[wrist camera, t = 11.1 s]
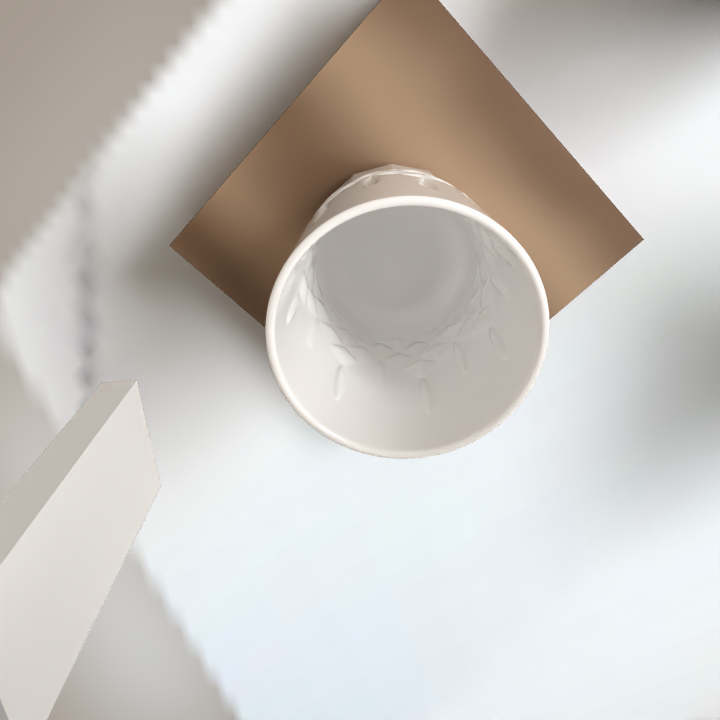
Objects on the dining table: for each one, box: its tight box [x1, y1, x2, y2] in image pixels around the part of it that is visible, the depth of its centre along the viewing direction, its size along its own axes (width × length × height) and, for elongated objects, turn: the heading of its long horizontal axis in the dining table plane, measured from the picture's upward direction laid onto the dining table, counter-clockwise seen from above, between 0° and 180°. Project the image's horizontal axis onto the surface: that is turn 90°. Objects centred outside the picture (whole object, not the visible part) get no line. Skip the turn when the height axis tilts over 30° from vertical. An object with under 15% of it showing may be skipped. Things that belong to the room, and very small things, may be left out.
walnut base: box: [170, 0, 644, 327], centre depth 29 cm, size 14×14×4 cm
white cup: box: [265, 164, 549, 459], centre depth 22 cm, size 8×8×10 cm
